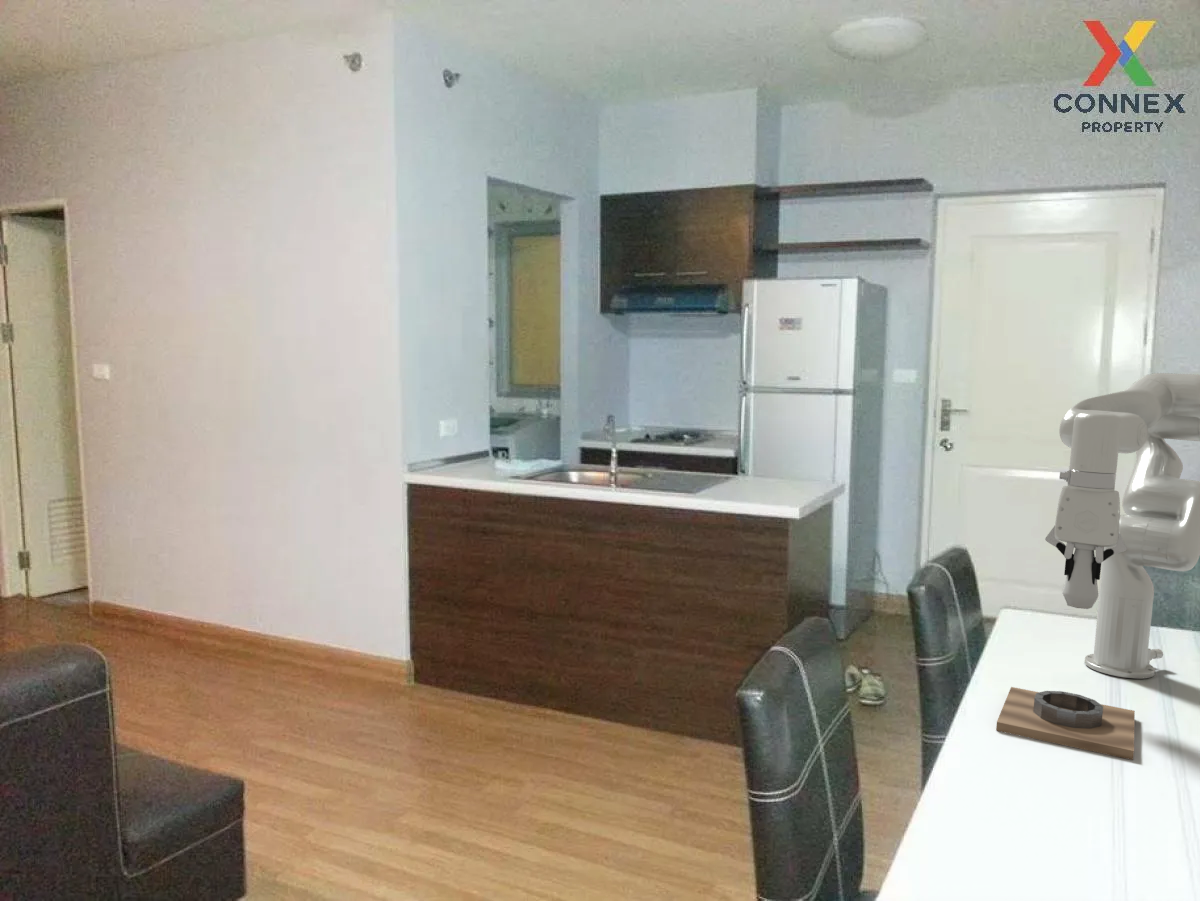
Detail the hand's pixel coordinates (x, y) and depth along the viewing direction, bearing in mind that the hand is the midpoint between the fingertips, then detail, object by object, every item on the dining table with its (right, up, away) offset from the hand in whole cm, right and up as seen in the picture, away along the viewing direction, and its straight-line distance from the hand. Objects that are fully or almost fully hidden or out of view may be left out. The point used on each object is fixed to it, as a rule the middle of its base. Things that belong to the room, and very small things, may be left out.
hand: (1081, 580), depth 169 cm
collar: (-7, -22, -10) cm, 25 cm away
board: (-7, -23, -9) cm, 26 cm away
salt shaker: (0, -5, 0) cm, 5 cm away
